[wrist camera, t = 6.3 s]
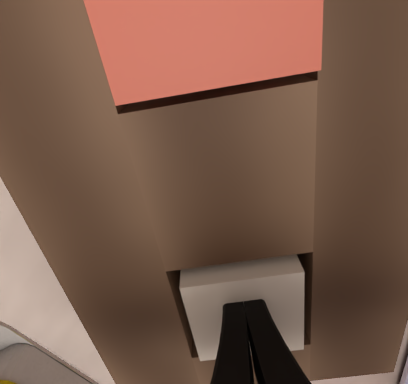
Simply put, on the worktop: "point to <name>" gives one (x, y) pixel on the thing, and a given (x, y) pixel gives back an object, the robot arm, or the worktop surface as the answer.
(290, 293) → the off-white plunger
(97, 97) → the walnut plunger housing
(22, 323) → the worktop surface
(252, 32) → the salmon red square block
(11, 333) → the emergency button
